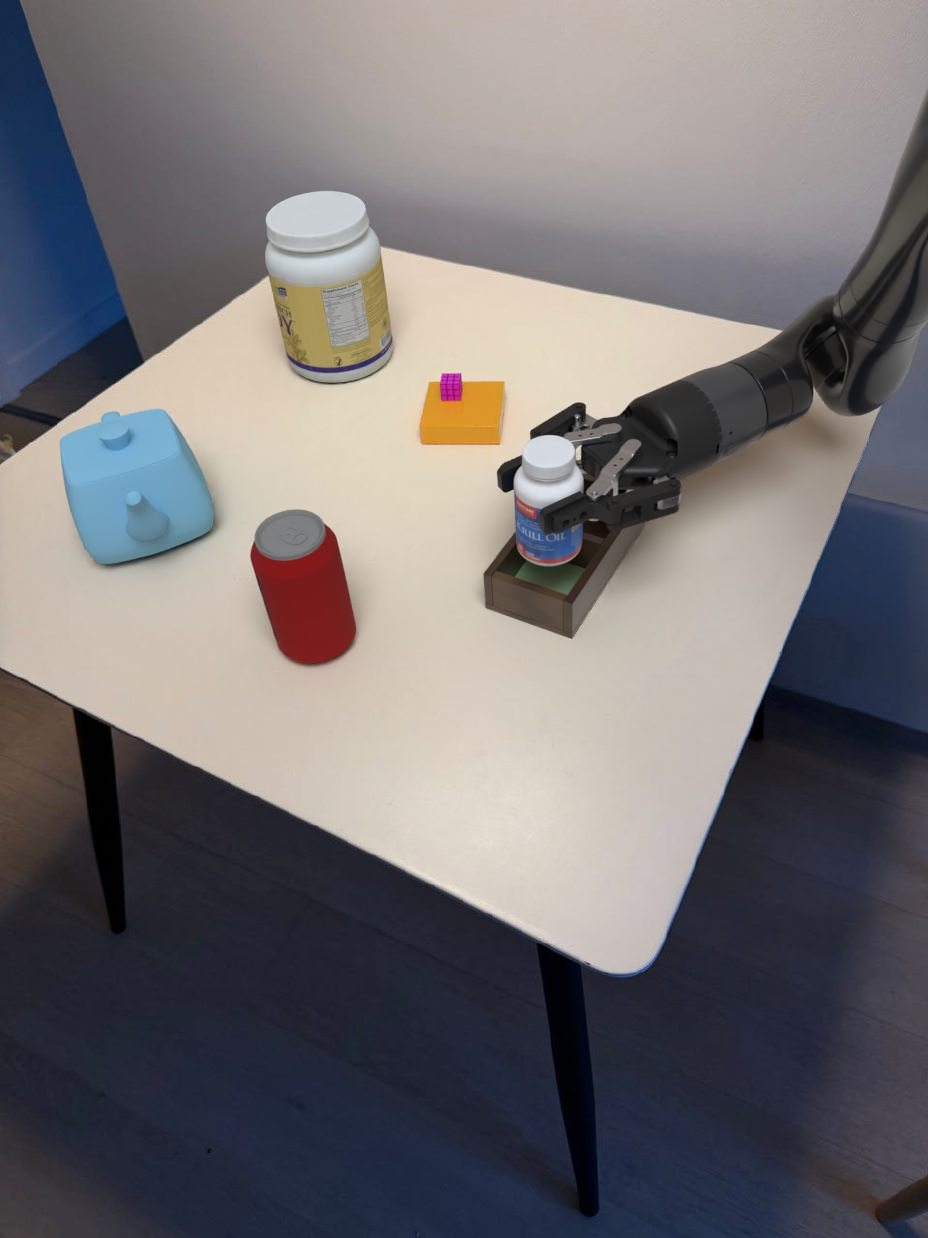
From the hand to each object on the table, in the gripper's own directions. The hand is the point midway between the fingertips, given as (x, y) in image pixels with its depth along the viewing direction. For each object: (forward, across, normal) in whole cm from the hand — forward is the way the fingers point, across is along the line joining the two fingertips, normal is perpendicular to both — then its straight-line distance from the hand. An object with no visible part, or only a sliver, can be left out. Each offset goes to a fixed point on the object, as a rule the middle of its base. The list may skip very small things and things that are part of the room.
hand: (521, 501), depth 76 cm
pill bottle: (-3, 0, +6) cm, 7 cm away
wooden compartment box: (-6, -2, +11) cm, 13 cm away
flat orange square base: (-9, -26, +12) cm, 30 cm away
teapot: (+24, -27, +11) cm, 38 cm away
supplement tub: (-4, -45, +12) cm, 46 cm away
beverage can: (+17, -6, +11) cm, 21 cm away
